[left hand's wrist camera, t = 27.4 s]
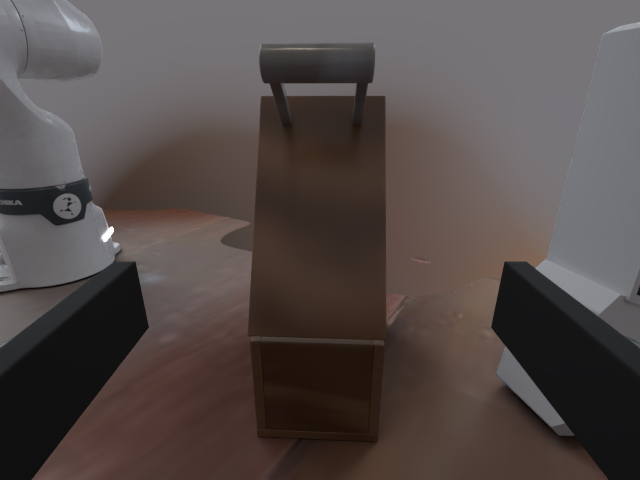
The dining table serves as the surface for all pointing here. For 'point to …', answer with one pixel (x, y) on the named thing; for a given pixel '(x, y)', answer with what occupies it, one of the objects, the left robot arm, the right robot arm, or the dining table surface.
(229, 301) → the dining table surface
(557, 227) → the electronic device
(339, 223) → the lid
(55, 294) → the dining table surface
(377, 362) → the chest
